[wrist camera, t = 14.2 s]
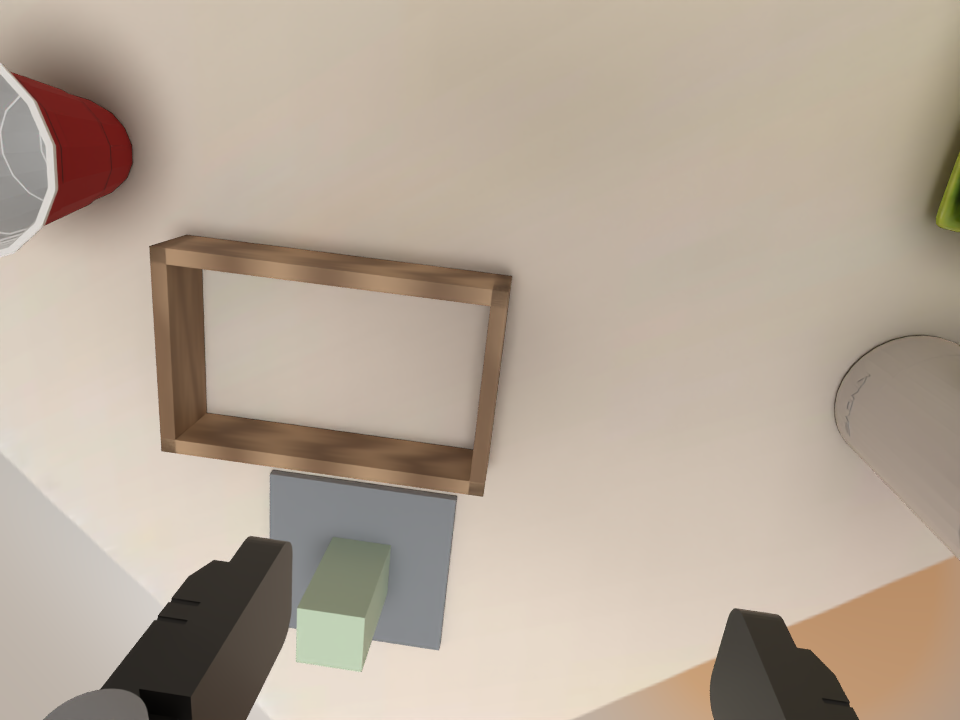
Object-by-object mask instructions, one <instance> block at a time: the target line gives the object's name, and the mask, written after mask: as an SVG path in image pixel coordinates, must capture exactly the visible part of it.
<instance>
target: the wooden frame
mask: <svg viewBox="0 0 960 720" xmlns="http://www.w3.org/2000/svg"><path fill="white" fill-rule="evenodd" d="M149 248H150V265H151V282H152V299H153V315H154V332H155V349H156V366H157V383H158V399H159V416H160V433H161V450H162V451H164V452H171V453H178V454H185V455H192V456H199V457H206V458H213V459H220V460H227V461H235V462H242V463H249V464H256V465H263V466H270V467H277V468H284V469H291V470H298V471H305V472H312V473H319V474H326V475H334V476H341V477H348V478H355V479H362V480H369V481H376V482H383V483H390V484H397V485H404V486H411V487H418V488H426V489H433V490H440V491H447V492H454V493H461V494H468V495H475V496H482V497H483V494H484V487H485V481H486V474H487V468H488V461H489V453H490V445H491V437H492V429H493V422H494V414H495V406H496V398H497V390H498V383H499V375H500V367H501V359H502V351H503V343H504V336H505V328H506V320H507V312H508V304H509V297H510V289H511V281H512V276H508V275H500V274H492V273H484V272H476V271H468V270H460V269H452V268H445V267H437V266H429V265H421V264H413V263H405V262H397V261H389V260H381V259H373V258H365V257H358V256H350V255H342V254H334V253H326V252H318V251H310V250H302V249H294V248H286V247H279V246H271V245H263V244H255V243H247V242H239V241H231V240H223V239H215V238H207V237H199V236H192V235H184V236H181V237H178V238H175V239H171V240H168V241H165V242H161V243H158V244H155V245H152V246H149ZM202 269H206V270H213V271H221V272H229V273H237V274H244V275H252V276H260V277H268V278H276V279H283V280H291V281H299V282H307V283H314V284H322V285H330V286H338V287H345V288H353V289H361V290H369V291H377V292H384V293H392V294H400V295H408V296H415V297H423V298H431V299H439V300H446V301H454V302H462V303H470V304H478V305H485V306H490V314H489V323H488V331H487V340H486V348H485V356H484V365H483V373H482V382H481V390H480V399H479V407H478V415H477V424H476V432H475V441H474V449H473V450H471V449H464V448H457V447H449V446H442V445H435V444H428V443H421V442H413V441H406V440H399V439H392V438H384V437H377V436H370V435H363V434H355V433H348V432H341V431H334V430H327V429H319V428H312V427H305V426H298V425H290V424H283V423H276V422H269V421H262V420H254V419H247V418H240V417H233V416H225V415H218V414H211V413H207V404H206V374H205V343H204V313H203V283H202Z"/></svg>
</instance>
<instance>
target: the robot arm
mask: <svg viewBox="0 0 960 720" xmlns="http://www.w3.org/2000/svg"><path fill="white" fill-rule="evenodd" d="M835 419H836V423H837V426H838V429H839V432H840V434H841V435H842V437H843V438H844V440H845V442H846V443H847V444H848V445H849V446H850V447H851V448H852V449H853V450H854V451H855V452H856V453H857V454H858V455H859V456H860V457H861V458H862V459H863V460H864V461H865V463H866V464H867V465H868V466H869V467H870V468H871V469H872V470H873V471H874V472H875V473H876V474H877V475H878V477H879V478H880V479H881V480H882V481H883V482H884V483H885V484H886V485H887V486H888V487H889V488H890V489H891V490H892V491H893V492H894V493H895V494H896V495H897V496H898V497H899V498H900V499H901V500H902V501H903V502H904V503H905V504H906V505H907V506H908V507H909V509H910V510H911V511H912V512H913V513H914V514H915V515H916V516H917V517H918V518H919V519H920V520H921V521H922V522H923V523H924V524H925V525H926V526H927V527H928V528H929V529H930V530H931V531H932V532H933V533H934V534H935V535H936V536H937V537H938V538H939V540H940V541H941V542H942V543H943V544H944V545H945V546H946V547H947V548H948V549H949V550H950V551H951V552H952V553H953V554H954V555H955V556H956V557H957V558H958V559H959V560H960V346H959V345H957V344H956V343H954V342H951V341H948V340H945V339H943V338H939V337H932V336H925V335H924V336H908V337H904V338H900V339H896V340H892V341H890V342H887V343H885V344H883V345H880V346H878V347H876V348H875V349H873V350H872V351H870V352H869V353H867V354H866V355H864V356H863V357H862V358H861V359H860V360H859V361H858V362H857V363H856V364H855V365H854V366H853V367H852V368H851V369H850V371H849V372H848V374H847V375H846V376H845V378H844V379H843V381H842V384H841V386H840V388H839V390H838V393H837V398H836V403H835ZM292 558H293V551H292V545H291V543H290V542H288V541H281V540H274V539H267V538H260V537H254V536H250V537H248V538H247V539H246V540H245V541H244V542H243V544H242V545H241V547H240V548H239V549H238V551H237V552H236V554H235V555H234V556H233V558H232V559H231V561H230V562H224V561H217V560H213V561H212V562H210V563H209V564H207V565H206V566H204V567H203V568H201V569H199V570H198V571H196V572H195V573H193V574H192V575H190V576H189V577H188V578H187V579H186V580H185V582H184V583H183V584H182V586H181V587H180V588H179V589H178V591H177V592H176V593H175V595H174V596H173V597H172V600H171V602H168V603H167V605H166V606H165V607H164V609H163V610H162V611H161V612H160V614H159V615H158V619H157V620H154V621H153V623H152V624H151V625H150V627H149V628H148V629H147V631H146V632H145V633H144V634H143V636H142V637H141V638H140V639H139V641H138V642H137V643H136V644H135V646H134V647H133V648H132V650H131V651H130V652H129V654H128V655H127V656H126V657H125V658H124V660H123V661H122V662H121V664H120V665H119V666H118V667H117V669H116V670H115V671H114V672H113V674H112V675H111V676H110V678H109V679H108V680H107V681H106V683H105V684H104V685H103V687H102V688H101V689H100V690H95V691H92V692H87V693H84V694H82V695H79V696H77V697H74V698H72V699H70V700H68V701H67V702H65V703H63V704H62V705H60V706H58V707H57V708H56V709H55V710H53V711H52V712H51V713H50V714H48V716H46V717H45V718H44V719H43V720H246V719H247V717H248V715H249V713H250V710H251V708H252V707H253V705H254V703H255V701H256V699H257V697H258V695H259V693H260V691H261V689H262V687H263V685H264V683H265V680H266V678H267V676H268V674H269V672H270V670H271V668H272V666H273V664H274V662H275V660H276V658H277V656H278V654H279V652H280V650H281V648H282V646H283V644H284V641H285V639H286V636H287V632H288V628H289V624H290V619H291V611H292ZM710 702H711V709H712V714H713V717H714V720H859V719H858V717H857V715H856V713H855V711H854V709H853V708H851V707H850V706H849V703H850V702H849V700H848V698H847V696H846V695H845V693H844V691H843V689H842V687H841V685H840V683H839V682H838V680H837V678H836V676H835V675H834V673H833V672H831V670H830V669H829V668H828V667H827V666H825V664H823V662H822V661H821V660H820V659H819V658H818V657H817V656H816V655H815V654H814V653H813V652H812V651H811V650H808V649H801V648H797V647H796V645H795V643H794V641H793V639H792V637H791V635H790V633H789V631H788V629H787V627H786V625H785V623H784V621H783V619H782V618H781V617H780V616H779V615H777V614H771V613H764V612H757V611H750V610H743V609H737V608H735V609H733V610H732V611H731V613H730V615H729V617H728V620H727V624H726V627H725V630H724V634H723V637H722V641H721V644H720V648H719V651H718V654H717V658H716V662H715V665H714V669H713V672H712V676H711V682H710Z"/></svg>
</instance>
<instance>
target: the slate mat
mask: <svg viewBox="0 0 960 720" xmlns="http://www.w3.org/2000/svg"><path fill="white" fill-rule="evenodd" d="M456 499H457V496H452V495H445V494H438V493H431V492H424V491H417V490H410V489H403V488H396V487H389V486H382V485H375V484H368V483H360V482H353V481H346V480H339V479H332V478H325V477H318V476H311V475H304V474H297V473H290V472H283V471H276V470H273V471H272V472H271V473H270V539H274V540H281V541H288V542H290V543H291V545H292V551H293V558H292V611H291V619H290V624H289V628H295V629H297V607H298V605H299V603H300V601H301V599H302V597H303V595H304V593H305V591H306V589H307V587H308V585H309V583H310V581H311V579H312V577H313V575H314V573H315V571H316V570H317V568H318V566H319V564H320V562H321V560H322V558H323V556H324V554H325V552H326V550H327V548H328V546H329V544H330V542H331V540H332V538H333V537H338V538H344V539H351V540H358V541H365V542H372V543H379V544H386V545H391V551H390V564H389V577H388V591H387V596H386V599H385V602H384V605H383V608H382V611H381V614H380V617H379V620H378V623H377V626H376V629H375V632H374V636H373V639H372V640H374V641H381V642H387V643H394V644H401V645H407V646H414V647H420V648H427V649H433V650H439V648H440V642H441V633H442V624H443V615H444V606H445V597H446V588H447V579H448V570H449V562H450V553H451V544H452V535H453V526H454V517H455V508H456Z"/></svg>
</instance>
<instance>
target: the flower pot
mask: <svg viewBox="0 0 960 720" xmlns="http://www.w3.org/2000/svg"><path fill="white" fill-rule="evenodd" d="M936 224H937V226H939V227H940V228H944V229H947V230H951V231H956V232H960V152H959V155H958V157H957V160H956V162H955V165H954V168H953V170H952V173H951V176H950V179H949V181H948V184H947V187H946V190H945V192H944V195H943V198H942V201H941V203H940V206H939V209H938V212H937V216H936Z"/></svg>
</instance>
